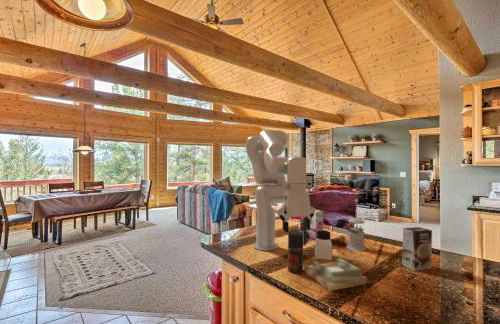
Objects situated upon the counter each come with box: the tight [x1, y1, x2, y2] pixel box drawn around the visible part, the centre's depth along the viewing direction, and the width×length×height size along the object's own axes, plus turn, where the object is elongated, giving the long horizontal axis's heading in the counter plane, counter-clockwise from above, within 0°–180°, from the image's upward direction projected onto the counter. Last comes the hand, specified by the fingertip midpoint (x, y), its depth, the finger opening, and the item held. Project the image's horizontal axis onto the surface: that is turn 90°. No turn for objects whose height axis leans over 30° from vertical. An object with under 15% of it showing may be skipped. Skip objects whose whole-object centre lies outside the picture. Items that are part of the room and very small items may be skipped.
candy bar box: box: [307, 208, 325, 241], centre depth 146 cm, size 11×5×16 cm, turn 17°
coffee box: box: [401, 226, 433, 271], centre depth 107 cm, size 9×6×16 cm
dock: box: [303, 257, 368, 292], centre depth 96 cm, size 16×16×5 cm
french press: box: [345, 199, 367, 252], centre depth 130 cm, size 10×12×25 cm
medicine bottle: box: [314, 229, 333, 261], centre depth 117 cm, size 7×7×12 cm
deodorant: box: [287, 230, 304, 275], centre depth 102 cm, size 6×6×15 cm
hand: (296, 230), depth 101 cm, fingers open, 9 cm apart
